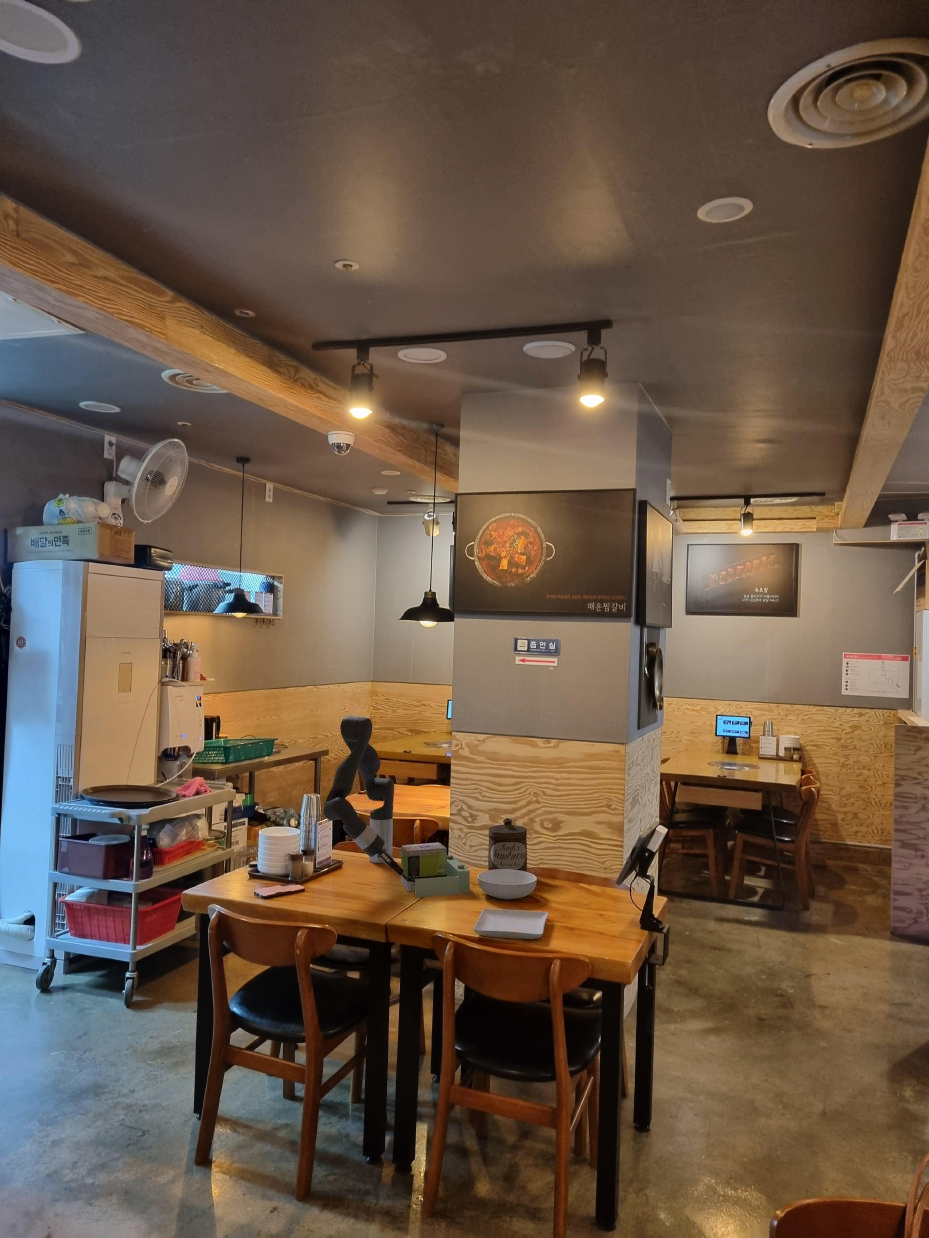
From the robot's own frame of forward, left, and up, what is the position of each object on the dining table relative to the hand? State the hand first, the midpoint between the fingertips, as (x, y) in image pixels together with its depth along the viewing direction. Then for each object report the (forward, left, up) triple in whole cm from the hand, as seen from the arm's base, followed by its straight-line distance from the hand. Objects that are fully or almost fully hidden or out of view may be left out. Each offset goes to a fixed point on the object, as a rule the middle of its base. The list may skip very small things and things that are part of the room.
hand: (401, 872), depth 305 cm
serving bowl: (+17, +34, -6) cm, 39 cm away
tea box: (-1, +9, -6) cm, 11 cm away
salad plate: (+51, +23, -7) cm, 56 cm away
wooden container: (-7, +43, -6) cm, 44 cm away
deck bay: (0, +12, -6) cm, 14 cm away
